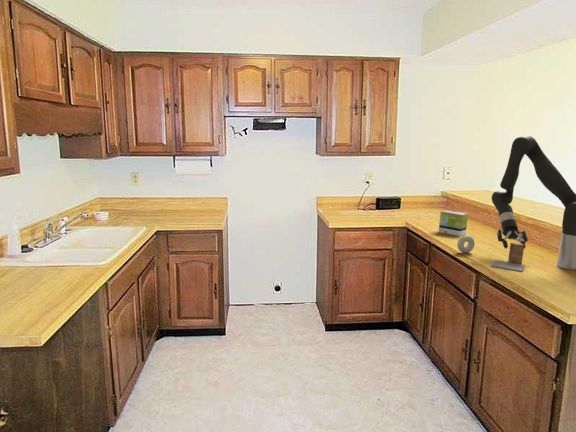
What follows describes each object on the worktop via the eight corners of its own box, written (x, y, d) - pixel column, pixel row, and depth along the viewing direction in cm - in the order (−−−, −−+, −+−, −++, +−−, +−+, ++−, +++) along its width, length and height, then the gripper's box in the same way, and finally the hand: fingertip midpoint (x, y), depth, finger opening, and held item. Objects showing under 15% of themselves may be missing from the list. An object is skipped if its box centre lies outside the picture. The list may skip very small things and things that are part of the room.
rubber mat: (524, 266, 218) (525, 265, 217) (522, 272, 208) (522, 270, 208) (494, 261, 225) (494, 260, 225) (490, 266, 215) (490, 265, 215)
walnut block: (508, 261, 226) (510, 242, 224) (517, 261, 226) (520, 243, 224) (511, 263, 222) (514, 244, 220) (521, 264, 222) (524, 245, 220)
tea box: (437, 232, 291) (440, 211, 289) (444, 230, 299) (446, 209, 296) (460, 236, 281) (462, 214, 279) (466, 234, 289) (468, 212, 286)
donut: (471, 252, 242) (473, 234, 241) (475, 253, 239) (477, 236, 237) (455, 252, 240) (457, 234, 239) (458, 254, 237) (460, 236, 235)
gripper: (497, 217, 231) (503, 243, 222) (524, 219, 230) (532, 245, 221) (492, 225, 237) (498, 251, 228) (518, 226, 236) (526, 252, 227)
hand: (515, 248), depth 224 cm, fingers open, 8 cm apart
